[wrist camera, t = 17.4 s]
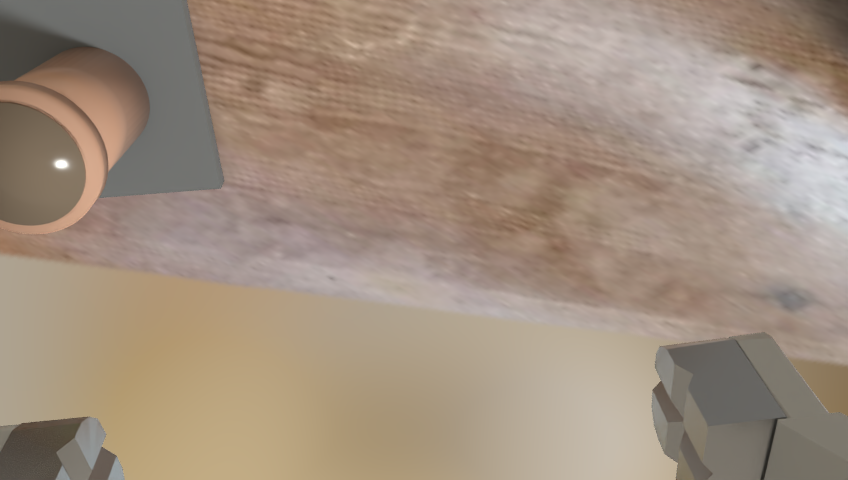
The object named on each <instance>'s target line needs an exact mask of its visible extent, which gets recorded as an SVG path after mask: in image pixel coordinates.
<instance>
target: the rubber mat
mask: <svg viewBox="0 0 848 480" xmlns="http://www.w3.org/2000/svg"><path fill="white" fill-rule="evenodd" d="M75 47H93V48H99V49H102V50H106V51H108V52H110V53H113V54H114V55H116V56H118V57H120V58H121V59H123V60H124V61H125V62H127V63H128V64H129V65H130V66H131V67H132V68H133V69H134V70H135V71H136V73H137V74H138V75H139V77H140V78H141V80H142V82H143V83H144V85H145V88H146V90H147V93H148V97H149V103H150V113H149V119H148V122H147V125H146V127H145V129H144V130H143V132H142V133H141V135H140V136H139V137H138V138H137V139H136V140H135V142H134V143H133V144H132V145H131V146H130V147H129V148H128V150H127V151H126V152H125V153H124V154H123V155H122V157H121V158H120V159H119V160H118V161H117V162H116V164H115V165H114V166H113V167H112V168H111V169H110V170H109V172H108V177H107V181H106V185H105V187H104V189H103V191H102V193H101V195H100V197H99V198H104V197H117V196H130V195H143V194H156V193H169V192H181V191H194V190H207V189H220V188H221V187H222V185H223V182H224V178H223V173H222V168H221V164H220V159H219V154H218V149H217V144H216V139H215V135H214V130H213V125H212V120H211V115H210V111H209V106H208V101H207V96H206V91H205V86H204V82H203V77H202V72H201V67H200V62H199V58H198V53H197V48H196V43H195V38H194V33H193V29H192V24H191V19H190V14H189V9H188V4H187V0H0V81H14V80H15V79H17V78H19V77H20V76H22V75H24V74H25V73H27V72H29V71H30V70H32V69H34V68H36V67H37V66H39V65H41V64H42V63H44V62H46V61H47V60H49V59H51V58H52V57H54V56H56V55H57V54H59V53H61V52H63V51H65V50H68V49H71V48H75Z"/></svg>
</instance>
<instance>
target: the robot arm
mask: <svg viewBox="0 0 848 480" xmlns="http://www.w3.org/2000/svg"><path fill="white" fill-rule="evenodd" d="M655 369H656V371H657V373H658V375H659V377H660V379H661V381H660V382H659V384H658V385H657V386H656V387H655V388H654V389H653V393H652V412H653V420H654V426H655V430H656V433H657V436H658V440H659V442H660V444H661V447H662V449H663V451H664V453H665V454H666V455H667V456H668V457H670V458H671V459H673V460H674V461H676V462H677V463H678V465H677V474H676V480H848V416H846V415H844V414H842V413H840V412H838V413H828V411H827V410H826V409H825V407H824V406H823V405H822V403H821V402H820V401H819V399H818V398H817V397H816V395H815V394H814V393H813V391H812V390H811V389H810V387H809V386H808V385H807V383H806V382H805V381H804V379H803V378H802V377H801V375H800V374H799V373H798V371H797V370H796V369H795V367H794V366H793V365H792V363H791V362H790V361H789V359H788V358H787V357H786V355H785V354H784V353H783V351H782V350H781V349H780V347H779V346H778V345H777V343H776V342H775V341H774V339H773V338H772V337H771V336H770V335H768V334H767V333H765V332H761V333H754V334H747V335H740V336H732V337H729V338H720V339H712V340H705V341H697V342H689V343H682V344H674V345H667V346H660V347H659V349H658V351H657V354H656V361H655ZM105 437H106V433H105V431H104V429H103V428H102V426H101V424H100V422H99V421H98V419H97V418H92V417H82V418H71V419H61V420H51V421H40V422H31V423H22V424H19V425H8V426H0V480H125V479H124V474H123V469H122V466H121V464H120V462H119V460H118V458H117V456H116V455H114V454H113V453H111V452H110V451H108V450H106V449H105V448H103V447H102V444H103V442H104V439H105Z"/></svg>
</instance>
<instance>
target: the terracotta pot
mask: <svg viewBox="0 0 848 480" xmlns="http://www.w3.org/2000/svg"><path fill="white" fill-rule="evenodd" d="M149 113H150V103H149V97H148V93H147V90H146V88H145V85H144V83H143V82H142V80H141V78H140V77H139V75H138V74H137V73H136V71H135V70H134V69H133V68H132V67H131V66H130V65H129V64H128V63H127V62H125V61H124V60H123V59H121V58H120V57H118V56H116V55H114V54H113V53H110V52H108V51H106V50H102V49H99V48H93V47H75V48H71V49H68V50H65V51H63V52H61V53H59V54H57V55H56V56H54V57H52V58H51V59H49V60H47V61H46V62H44V63H42V64H41V65H39V66H37V67H36V68H34V69H32V70H30V71H29V72H27V73H25V74H24V75H22V76H20V77H19V78H17V79H15V80H14V81H0V228H2V229H5V230H9V231H13V232H17V233H24V234H46V233H51V232H56V231H59V230H62V229H65V228H67V227H69V226H71V225H73V224H74V223H76V222H77V221H78V220H80V219H81V218H82V217H83V216H84V215H85V214H86V213H87V212H88V210H89V209H90V208H91V207H92V206H93V204H94V203H95V202H96V201H97V199H98V198H99V197H100V195H101V193H102V191H103V189H104V187H105V185H106V181H107V177H108V172H109V170H110V169H111V168H112V167H113V166H114V165H115V164H116V162H117V161H118V160H119V159H120V158H121V157H122V155H123V154H124V153H125V152H126V151H127V150H128V148H129V147H130V146H131V145H132V144H133V143H134V142H135V140H136V139H137V138H138V137H139V136H140V135H141V133H142V132H143V130H144V129H145V127H146V125H147V122H148V119H149Z"/></svg>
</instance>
